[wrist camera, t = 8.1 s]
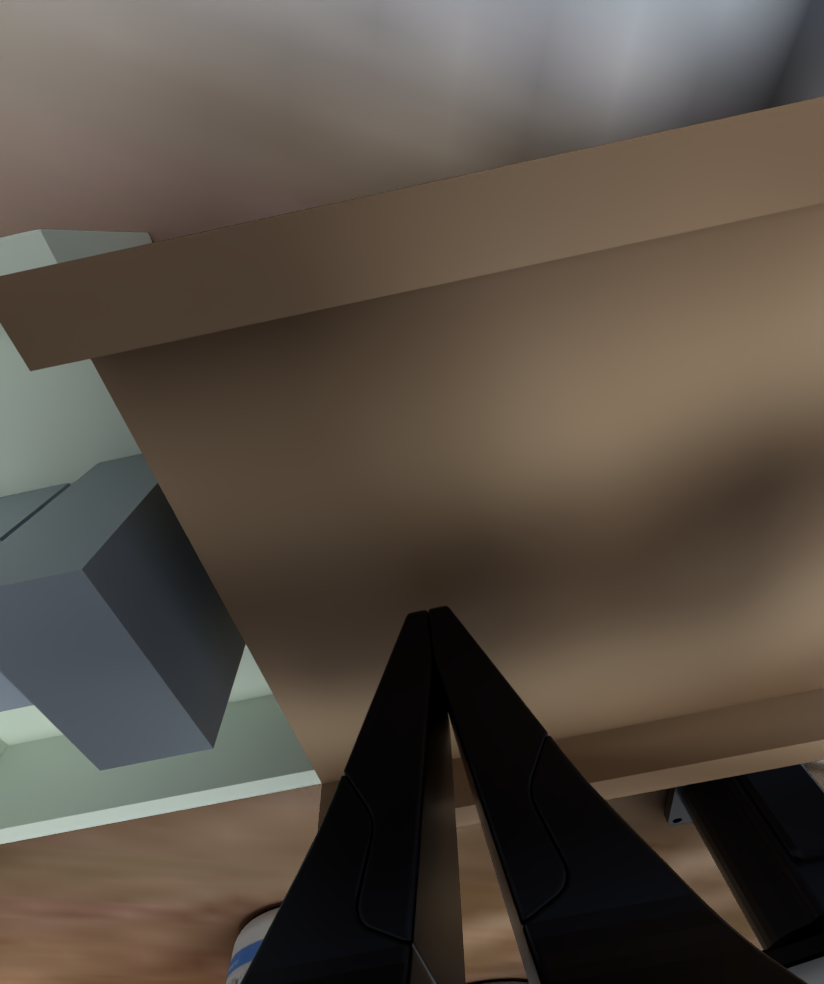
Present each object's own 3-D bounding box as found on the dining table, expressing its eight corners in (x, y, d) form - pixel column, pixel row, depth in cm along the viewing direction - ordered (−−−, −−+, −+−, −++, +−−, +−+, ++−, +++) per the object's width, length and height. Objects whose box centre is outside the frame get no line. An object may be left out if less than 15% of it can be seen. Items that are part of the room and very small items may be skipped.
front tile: (213, 748, 9) (99, 770, 9) (263, 588, 14) (185, 604, 14) (81, 568, 7) (-71, 600, 7) (193, 442, 11) (98, 462, 11)
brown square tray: (709, 599, 16) (854, 753, 12) (341, 671, 17) (328, 851, 12) (808, 123, 10) (1283, -4, 5) (174, 260, 10) (-26, 281, 5)
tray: (337, 682, 17) (329, 781, 14) (13, 745, 17) (-66, 856, 14) (148, 232, 10) (38, 228, 6) (-423, 357, 10) (-795, 412, 7)
